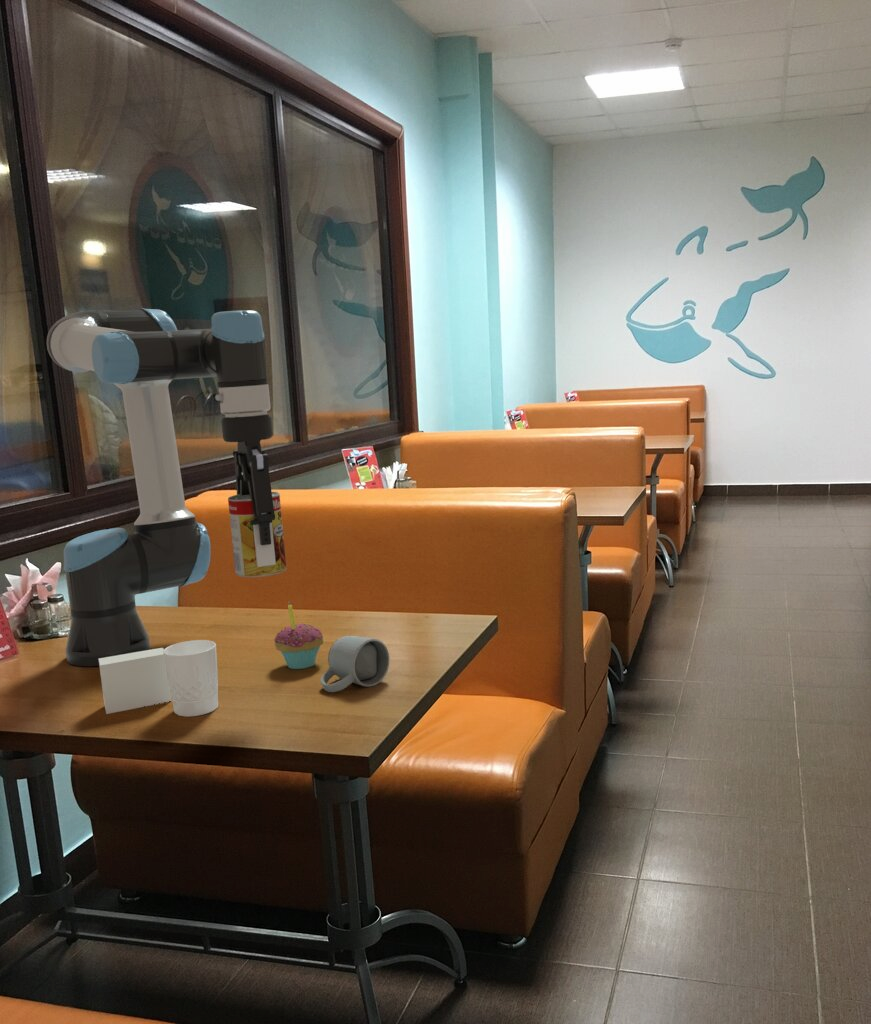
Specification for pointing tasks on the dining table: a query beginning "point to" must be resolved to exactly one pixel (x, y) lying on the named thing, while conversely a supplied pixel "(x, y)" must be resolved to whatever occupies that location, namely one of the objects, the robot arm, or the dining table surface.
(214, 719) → the dining table surface
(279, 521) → the canned food
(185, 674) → the white cup
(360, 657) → the ceramic mug
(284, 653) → the cupcake
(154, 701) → the off-white rectangular block
